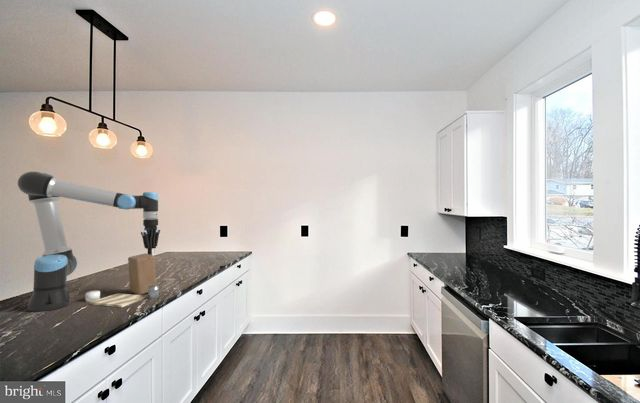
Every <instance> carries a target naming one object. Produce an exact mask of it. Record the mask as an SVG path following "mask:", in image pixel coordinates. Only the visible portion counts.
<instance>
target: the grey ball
mask: <svg viewBox="0 0 640 403" xmlns="http://www.w3.org/2000/svg"><path fill="white" fill-rule="evenodd" d="M159 293H160V284H156V285H152V286H149V287H148V293H147V299H148V300H156V299H158V298H159V296H160V294H159Z"/></svg>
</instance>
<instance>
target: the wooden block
mask: <svg viewBox="0 0 640 403" xmlns="http://www.w3.org/2000/svg"><path fill="white" fill-rule="evenodd" d="M155 259H156V257H155V255H154V256H153V255H149V254H148V253H141V254H137V255H131V256H129V257H127V260H128V261H127V263H128V277H129V291H130V292H131V293H133V294H134V295H144V294H148V287H149V286H152V285H157V273H156V260H155Z"/></svg>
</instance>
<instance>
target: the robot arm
mask: <svg viewBox="0 0 640 403" xmlns="http://www.w3.org/2000/svg"><path fill="white" fill-rule="evenodd" d="M17 187H18V189H19V190H20V191H21V192H22V193H24V194H25V195H27V198H28V201H29V203H31V204H33V205H34V208H35V212H36V216H37V220H38V225H39V230H40V233H41V238H42V242H43V245H44V252H43V254H41V255H42V256H40V257H37V258H36V259H35V261H34V264H33V290H32V291H33V292H32V294H31V297H30V298H29V301H28V303H27V307H26V308H27V309H26V310H27V311H29V312H45V311H46V312H47V311H51V310H57V309H61V308H64V307H67V306H69V305H70V304H71V296H70V294H69V292H68V289H67V281H68V280H67V278H68V276H70V275H72V274H73V273H74V271H75V270H76V269H77V266H78V259H77V257H76V256H75V255H74V253H73V249H72V248H71V247H69V246H68V244H67V240H66V236H65V231H64V226H63V223H62V217H61V213H60V209H59V204H58V201H59V199H60V198H65V199H70V200H77V201H80V202H81V201H82V202H87V203H92V204H97V205H103V206H107V207H112V208H113V207H114V208H118V209H120V210H121V209H122V210H125V211H126V210H137V209H139V210H141V209H142V217H143V218H142V219H143V220H142V221H143V222H142V225H143V227H144V229H143V231H140V235H141V237H142V238H141V239H142V242H143V246H144V249H146V250H147V254H149V255H153V256H154V257H155V249H156V248H157V247H158V242H159V237H160V236H159V235H160V233H161V230H160V229H158V225H159V219H158V218H159V195H158V192H156V191H155V192H154V191H144V192H143V193H142V194H141V195H133V194H132V195H131V194H128V193H120V192H116V191H111V190H107V189H101V188H97V187H94V186H93V187H92V186H88V185H87V186H86V185H82V184H78V183H72V182H68V181H64V180H58V179H57V178H56V177H54V176H53V175H52V174H48V173H45V172H40V171H27V172H24V173H22V175H20V176H19V177H18V179H17Z"/></svg>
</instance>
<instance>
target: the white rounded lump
mask: <svg viewBox="0 0 640 403" xmlns="http://www.w3.org/2000/svg"><path fill="white" fill-rule="evenodd" d="M98 299H101V291H100V290H90V291H87V292H85V298H84V300H85V302H87V303H90V302H92V301H95V300H98Z"/></svg>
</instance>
